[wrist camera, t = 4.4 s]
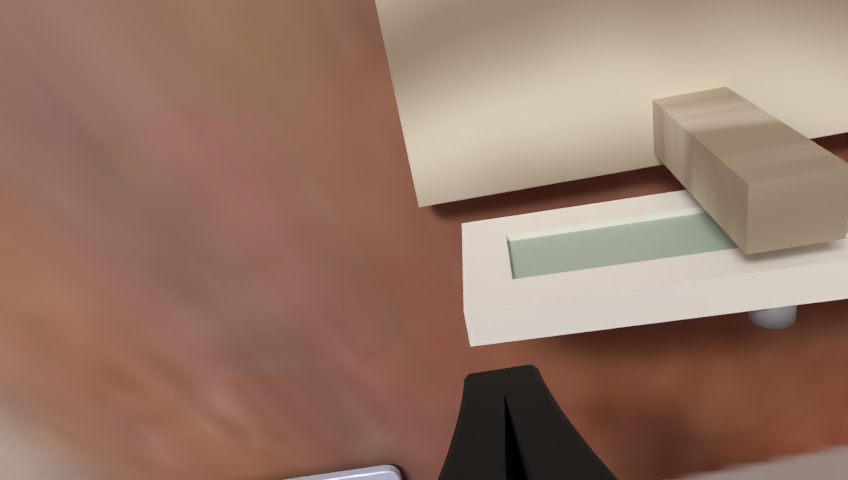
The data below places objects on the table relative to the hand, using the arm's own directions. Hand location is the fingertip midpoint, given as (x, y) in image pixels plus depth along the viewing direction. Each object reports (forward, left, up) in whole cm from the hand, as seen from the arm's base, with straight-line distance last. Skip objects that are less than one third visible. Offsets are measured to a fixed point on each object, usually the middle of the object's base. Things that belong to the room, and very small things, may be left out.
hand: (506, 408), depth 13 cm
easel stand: (+5, -6, -9) cm, 13 cm away
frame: (0, -7, -7) cm, 10 cm away
